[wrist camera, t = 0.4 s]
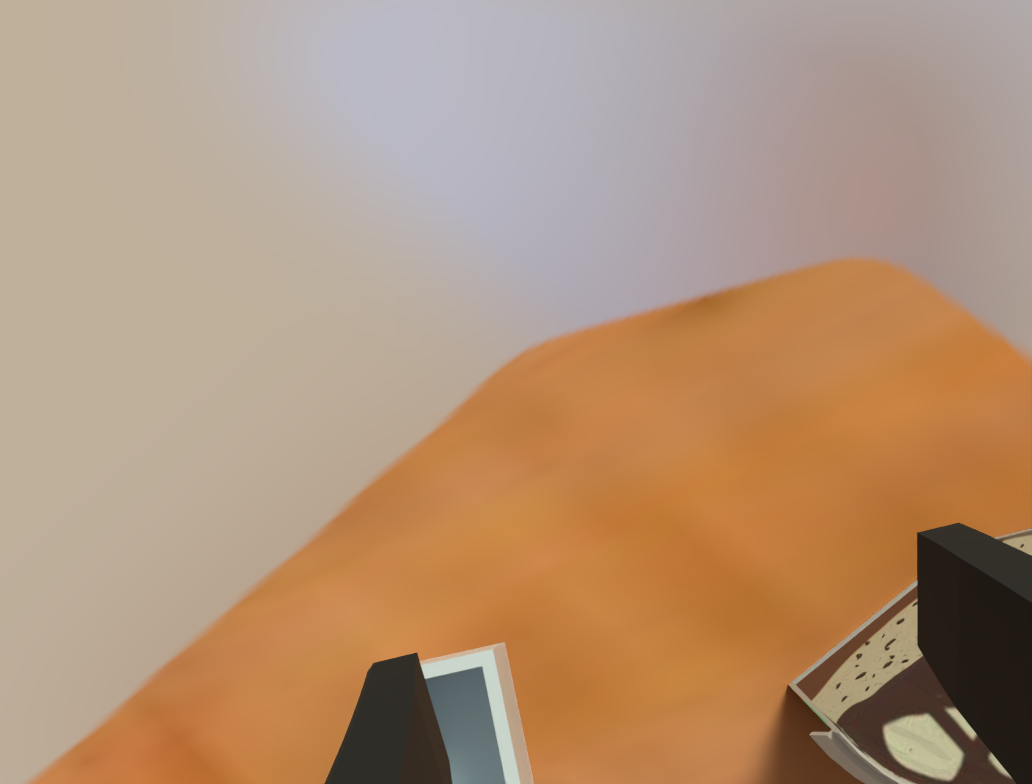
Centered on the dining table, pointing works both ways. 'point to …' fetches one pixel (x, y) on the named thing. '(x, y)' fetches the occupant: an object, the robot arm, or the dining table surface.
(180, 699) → the dining table surface
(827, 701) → the food container
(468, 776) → the small crate
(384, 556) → the dining table surface
